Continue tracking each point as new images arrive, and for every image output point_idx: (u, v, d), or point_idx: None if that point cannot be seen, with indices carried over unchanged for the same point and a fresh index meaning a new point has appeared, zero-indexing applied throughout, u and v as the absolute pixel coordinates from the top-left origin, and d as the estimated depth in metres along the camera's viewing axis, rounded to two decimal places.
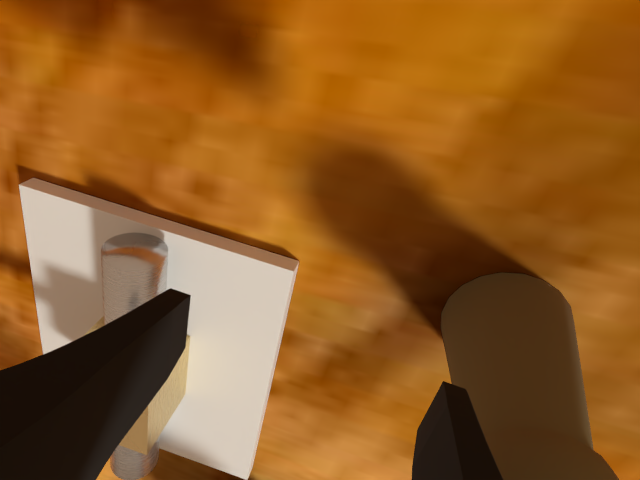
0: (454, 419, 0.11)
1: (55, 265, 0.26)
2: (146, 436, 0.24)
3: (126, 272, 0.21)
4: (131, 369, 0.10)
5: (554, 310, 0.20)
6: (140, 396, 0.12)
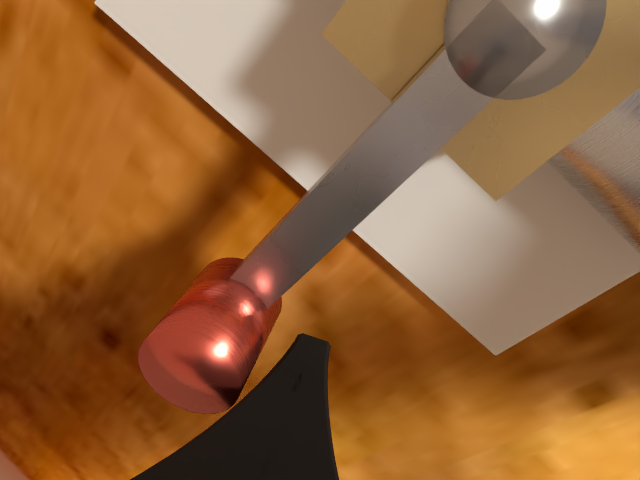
0: (300, 366, 0.11)
1: (238, 65, 0.14)
2: None
3: None
4: None
5: None
6: None
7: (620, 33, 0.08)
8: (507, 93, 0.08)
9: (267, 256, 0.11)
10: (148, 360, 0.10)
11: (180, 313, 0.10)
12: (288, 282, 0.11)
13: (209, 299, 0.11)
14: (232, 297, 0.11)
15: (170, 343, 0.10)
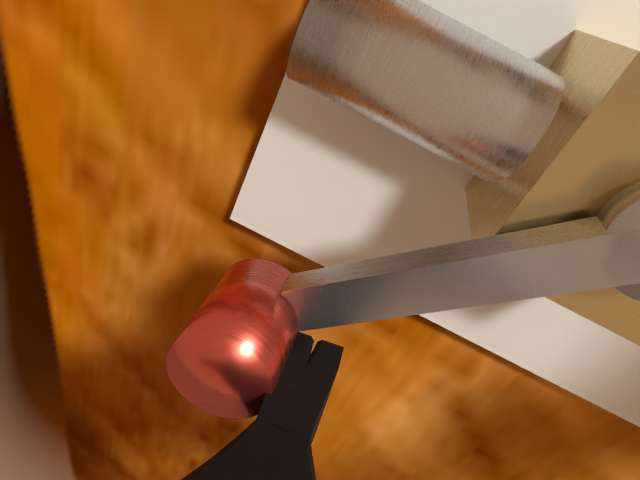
0: None
1: (362, 241, 0.16)
2: None
3: (316, 11, 0.10)
4: (312, 434, 0.10)
5: None
6: None
7: None
8: (624, 289, 0.09)
9: (332, 293, 0.11)
10: (183, 350, 0.10)
11: (237, 320, 0.10)
12: (334, 321, 0.11)
13: (263, 313, 0.10)
14: (281, 316, 0.11)
15: (220, 349, 0.09)
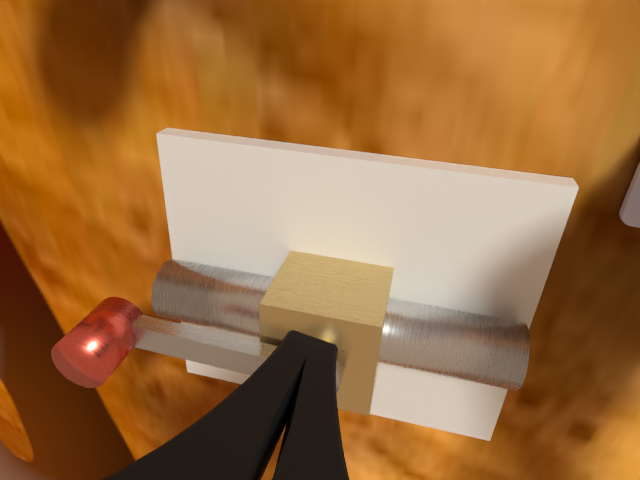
0: (308, 368, 0.11)
1: None
2: (340, 320, 0.18)
3: (156, 298, 0.22)
4: (277, 421, 0.10)
5: None
6: (273, 444, 0.11)
7: (353, 351, 0.19)
8: None
9: (157, 337, 0.20)
10: (64, 347, 0.18)
11: (99, 340, 0.18)
12: (155, 350, 0.20)
13: (115, 338, 0.19)
14: (125, 341, 0.19)
15: (84, 353, 0.18)
